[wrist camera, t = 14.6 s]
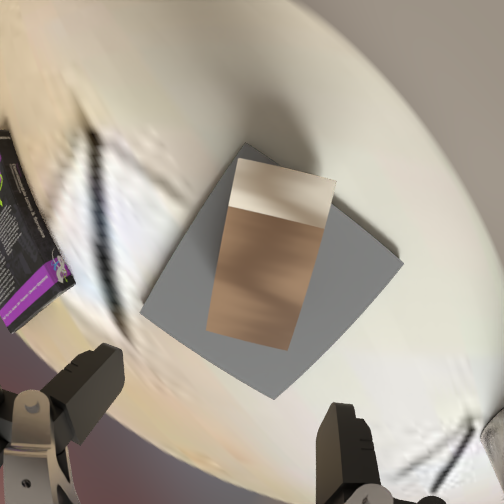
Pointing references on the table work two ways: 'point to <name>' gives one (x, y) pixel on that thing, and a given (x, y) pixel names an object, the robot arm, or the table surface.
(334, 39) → the table surface
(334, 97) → the table surface
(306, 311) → the mat
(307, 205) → the block
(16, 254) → the box
